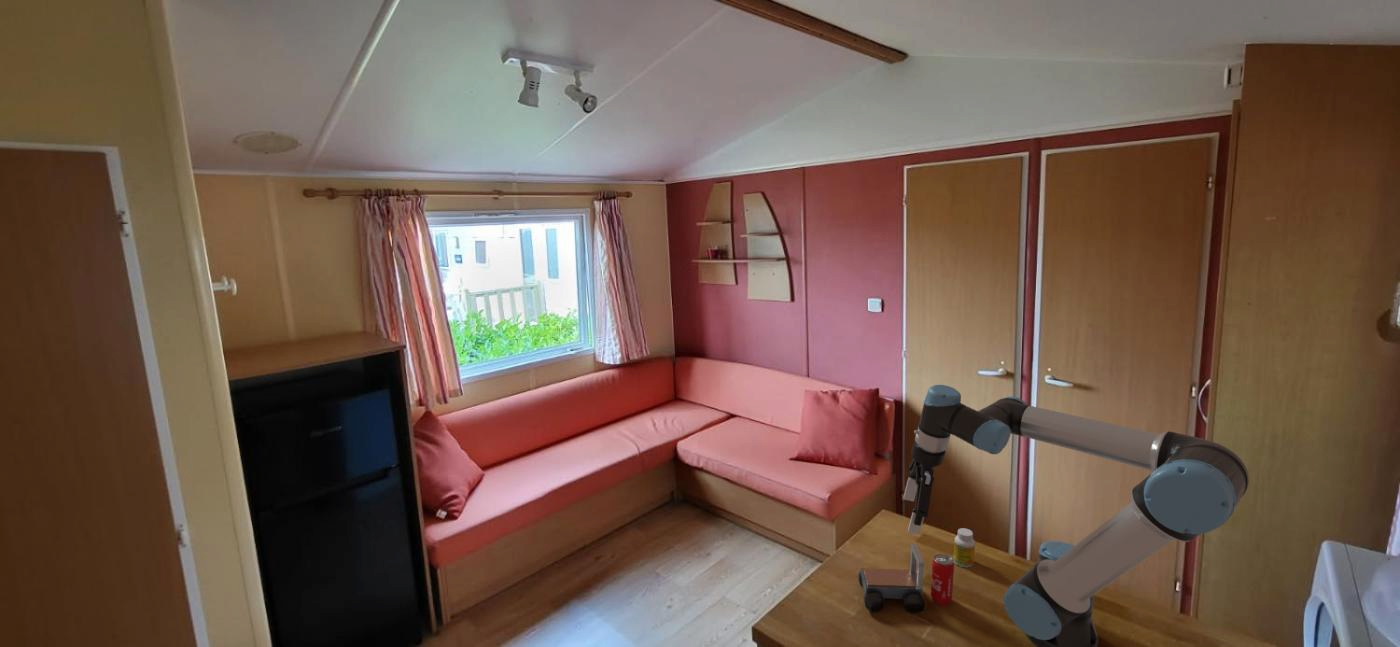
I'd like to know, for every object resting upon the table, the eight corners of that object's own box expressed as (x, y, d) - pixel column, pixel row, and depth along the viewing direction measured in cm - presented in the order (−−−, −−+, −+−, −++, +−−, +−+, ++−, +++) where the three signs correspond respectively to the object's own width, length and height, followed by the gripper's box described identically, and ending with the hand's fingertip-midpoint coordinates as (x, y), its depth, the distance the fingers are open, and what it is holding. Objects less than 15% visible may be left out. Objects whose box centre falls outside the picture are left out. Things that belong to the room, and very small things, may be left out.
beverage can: (953, 607, 156) (956, 566, 154) (932, 605, 157) (934, 564, 155) (949, 594, 161) (952, 554, 158) (928, 592, 162) (931, 552, 159)
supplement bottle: (954, 566, 173) (956, 535, 171) (952, 555, 178) (954, 525, 176) (974, 569, 171) (976, 538, 169) (972, 558, 176) (974, 528, 174)
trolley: (914, 586, 165) (916, 540, 162) (924, 613, 154) (927, 565, 151) (857, 584, 166) (859, 539, 163) (864, 611, 156) (866, 563, 153)
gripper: (909, 417, 161) (892, 484, 168) (919, 470, 138) (899, 544, 146) (939, 423, 159) (920, 490, 167) (953, 477, 137) (932, 551, 144)
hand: (910, 515), depth 156 cm, fingers open, 13 cm apart
